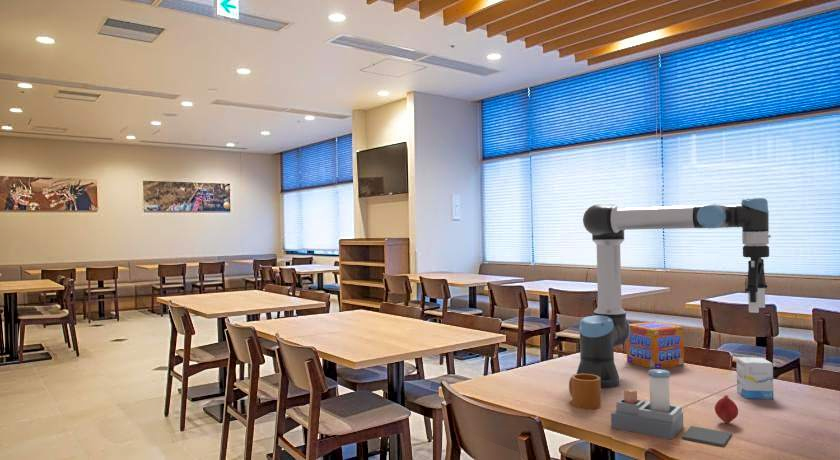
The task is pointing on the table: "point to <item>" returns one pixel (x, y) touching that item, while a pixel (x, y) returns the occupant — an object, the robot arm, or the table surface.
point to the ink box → (755, 378)
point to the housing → (647, 419)
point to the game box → (655, 345)
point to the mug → (585, 391)
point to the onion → (726, 409)
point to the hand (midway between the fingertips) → (757, 310)
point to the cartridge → (659, 390)
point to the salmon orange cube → (630, 396)
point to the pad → (707, 436)
